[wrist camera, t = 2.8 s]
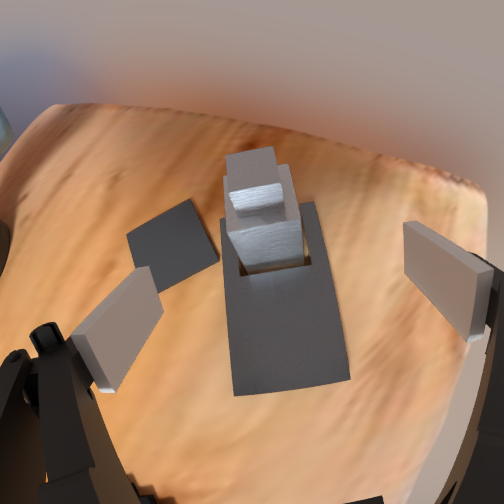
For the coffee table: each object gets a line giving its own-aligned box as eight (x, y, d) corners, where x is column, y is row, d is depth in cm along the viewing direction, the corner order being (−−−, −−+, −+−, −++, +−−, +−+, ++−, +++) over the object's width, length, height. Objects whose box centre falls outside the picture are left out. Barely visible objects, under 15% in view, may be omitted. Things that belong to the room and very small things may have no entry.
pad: (128, 237, 32) (126, 234, 32) (191, 202, 33) (189, 199, 32) (147, 299, 28) (144, 297, 28) (219, 261, 29) (217, 258, 28)
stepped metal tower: (304, 266, 27) (298, 191, 17) (248, 275, 28) (214, 207, 18) (294, 218, 29) (284, 134, 20) (243, 228, 30) (212, 149, 20)
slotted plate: (348, 380, 22) (350, 379, 21) (237, 396, 23) (234, 396, 22) (314, 209, 29) (314, 201, 28) (223, 226, 30) (219, 218, 29)
